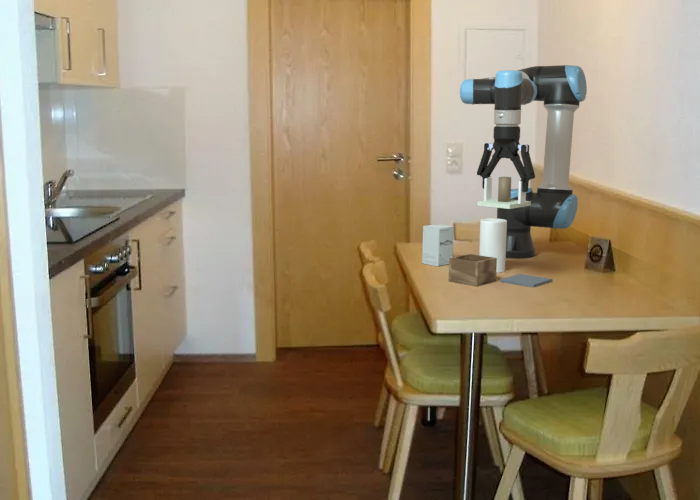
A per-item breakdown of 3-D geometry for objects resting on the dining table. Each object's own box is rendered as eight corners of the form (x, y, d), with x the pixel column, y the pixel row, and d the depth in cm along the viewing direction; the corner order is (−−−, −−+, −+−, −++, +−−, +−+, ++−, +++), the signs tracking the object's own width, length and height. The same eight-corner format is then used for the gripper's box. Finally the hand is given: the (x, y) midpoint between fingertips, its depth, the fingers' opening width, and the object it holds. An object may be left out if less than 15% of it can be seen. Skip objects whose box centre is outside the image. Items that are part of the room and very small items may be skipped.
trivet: (519, 276, 253) (519, 273, 253) (552, 281, 246) (552, 278, 246) (500, 281, 245) (500, 279, 245) (533, 287, 238) (533, 284, 238)
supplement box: (438, 266, 268) (439, 228, 265) (421, 263, 273) (422, 225, 271) (453, 264, 272) (454, 226, 270) (436, 260, 278) (437, 223, 276)
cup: (504, 273, 258) (506, 222, 255) (478, 272, 259) (479, 221, 256) (505, 268, 266) (507, 218, 263) (479, 267, 267) (480, 218, 264)
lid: (498, 202, 249) (499, 174, 248) (530, 205, 242) (531, 177, 240) (477, 205, 242) (478, 177, 240) (509, 208, 234) (510, 179, 233)
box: (467, 276, 252) (468, 253, 251) (495, 281, 246) (496, 257, 245) (448, 281, 245) (449, 258, 244) (477, 286, 239) (477, 262, 237)
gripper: (465, 124, 243) (463, 199, 247) (535, 126, 227) (532, 206, 231) (480, 124, 248) (478, 197, 252) (550, 126, 232) (546, 204, 236)
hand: (504, 201), depth 242 cm, fingers closed on lid, 11 cm apart
